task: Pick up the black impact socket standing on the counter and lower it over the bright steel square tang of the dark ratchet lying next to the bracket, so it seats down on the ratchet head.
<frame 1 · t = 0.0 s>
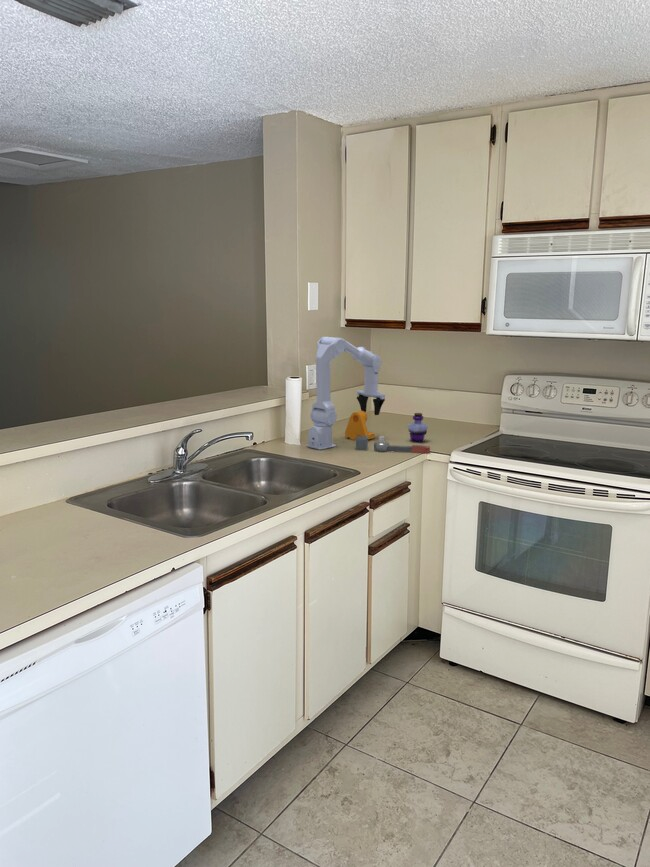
hand: (370, 413, 287), 10 cm above the worktop, fingers open, 7 cm apart
socket: (361, 448, 267), on the worktop
ratchet: (381, 450, 265), on the worktop
bracket: (360, 439, 285), on the worktop
potion bottle: (417, 441, 282), on the worktop
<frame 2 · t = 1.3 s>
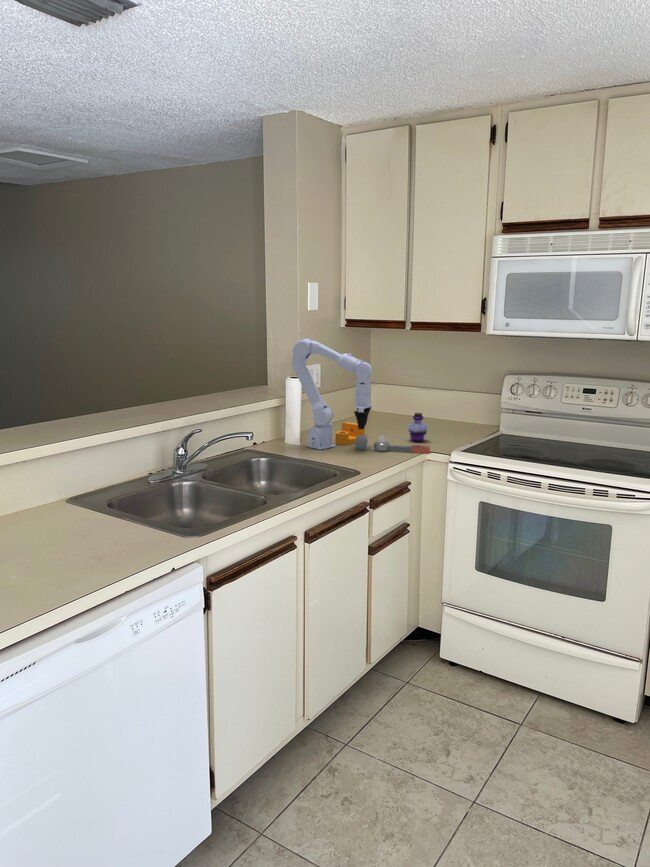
hand: (362, 427, 265), 9 cm above the worktop, fingers open, 7 cm apart
bracket: (355, 431, 282), point 4 cm above the worktop
everything else where it was.
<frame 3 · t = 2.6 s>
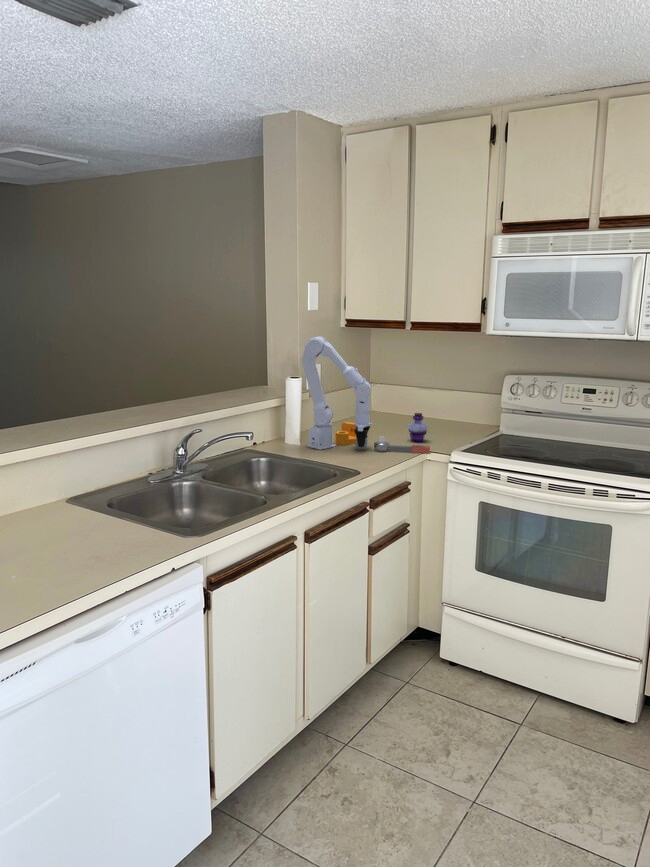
hand: (361, 445, 267), 1 cm above the worktop, fingers closed on socket, 4 cm apart
socket: (361, 448, 267), on the worktop, touching gripper
everything else where it was.
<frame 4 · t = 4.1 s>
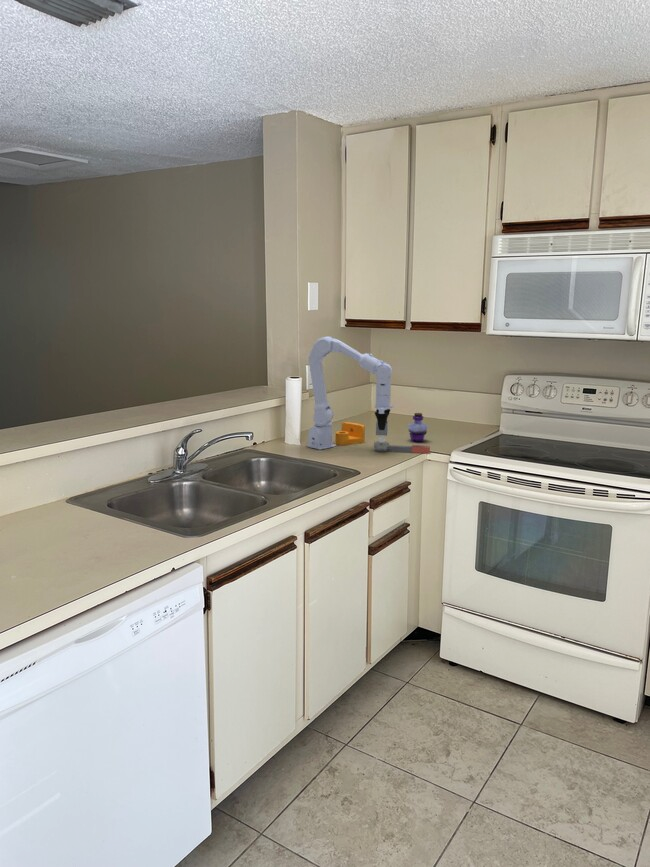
hand: (382, 428, 263), 9 cm above the worktop, fingers closed on socket, 4 cm apart
socket: (381, 434, 263), point 7 cm above the worktop, touching gripper
everything else where it was.
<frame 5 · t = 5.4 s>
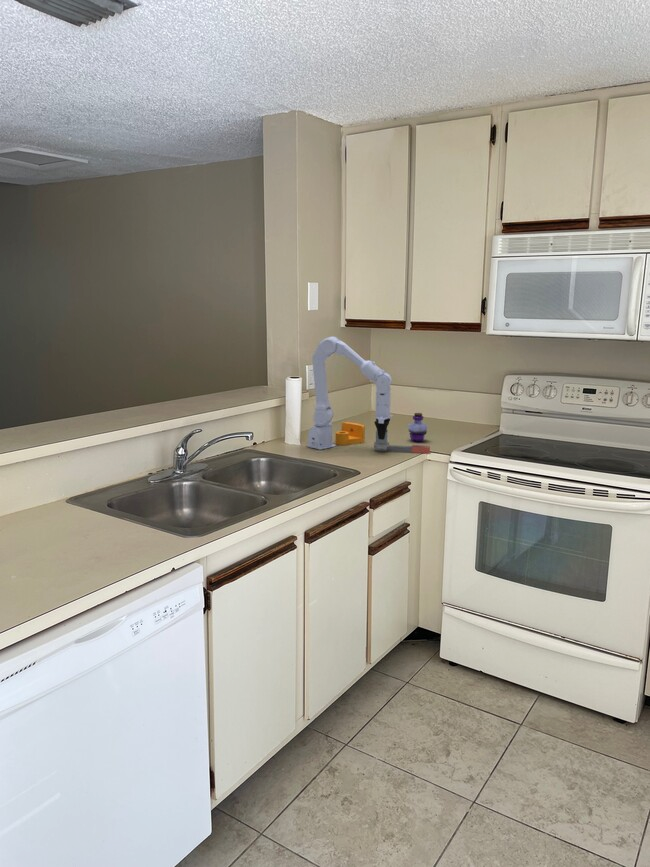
hand: (381, 437, 264), 5 cm above the worktop, fingers closed on socket, 4 cm apart
socket: (381, 442, 264), point 3 cm above the worktop, touching gripper, ratchet
everything else where it was.
when the fingers open (5 cm above the worktop, at t = 5.8 s): socket stays where it is, resting on ratchet.
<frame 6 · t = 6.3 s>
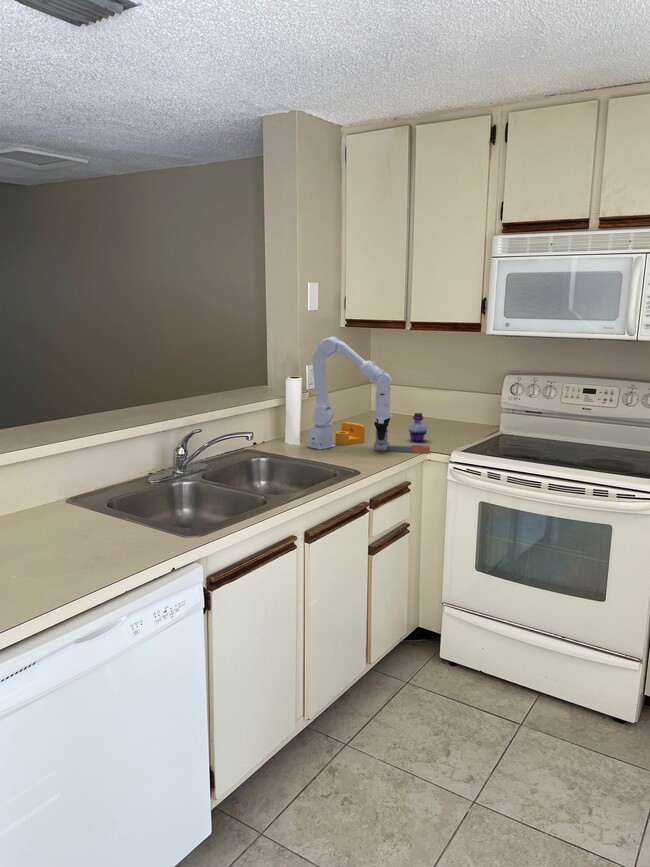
hand: (381, 438, 264), 5 cm above the worktop, fingers open, 7 cm apart
socket: (381, 442, 264), point 3 cm above the worktop, touching ratchet
everything else where it was.
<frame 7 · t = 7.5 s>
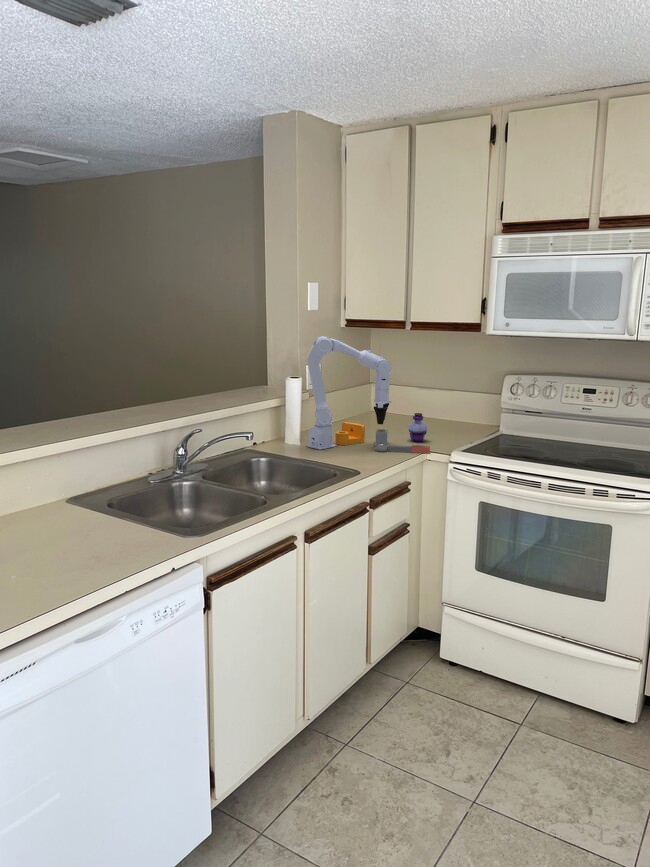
hand: (381, 422, 269), 10 cm above the worktop, fingers open, 7 cm apart
nothing on the worktop moved.
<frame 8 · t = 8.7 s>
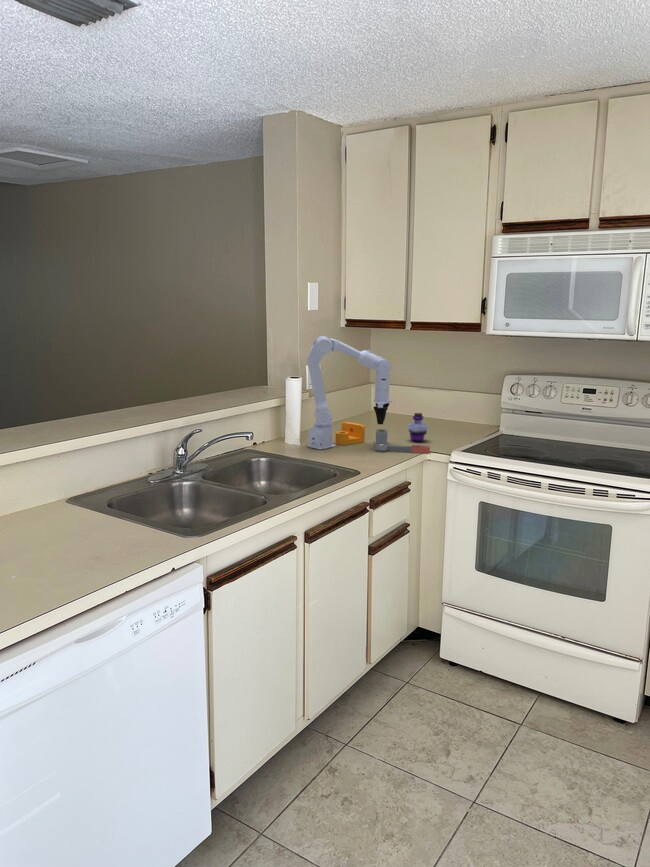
hand: (381, 422, 269), 10 cm above the worktop, fingers open, 7 cm apart
nothing on the worktop moved.
at the end: socket 0.0 cm off-centre on the ratchet, point 3.0 cm above the ratchet's base; socket tilted 0°; the gripper is holding nothing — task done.
